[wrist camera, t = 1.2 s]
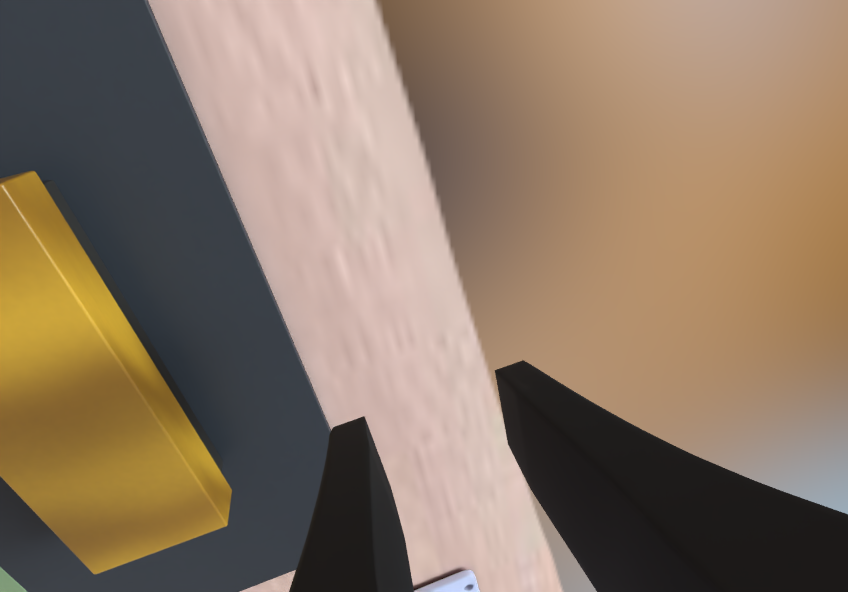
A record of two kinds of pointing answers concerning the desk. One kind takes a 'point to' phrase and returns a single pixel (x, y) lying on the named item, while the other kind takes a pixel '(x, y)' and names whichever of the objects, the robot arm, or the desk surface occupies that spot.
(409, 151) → the desk surface
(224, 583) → the desk mat
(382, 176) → the desk surface
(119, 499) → the gold bar
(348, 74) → the desk surface
